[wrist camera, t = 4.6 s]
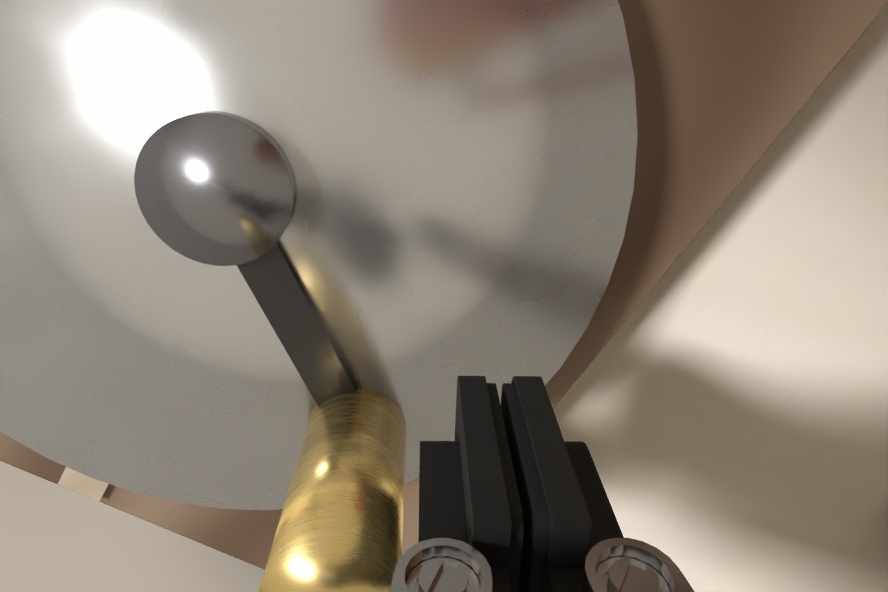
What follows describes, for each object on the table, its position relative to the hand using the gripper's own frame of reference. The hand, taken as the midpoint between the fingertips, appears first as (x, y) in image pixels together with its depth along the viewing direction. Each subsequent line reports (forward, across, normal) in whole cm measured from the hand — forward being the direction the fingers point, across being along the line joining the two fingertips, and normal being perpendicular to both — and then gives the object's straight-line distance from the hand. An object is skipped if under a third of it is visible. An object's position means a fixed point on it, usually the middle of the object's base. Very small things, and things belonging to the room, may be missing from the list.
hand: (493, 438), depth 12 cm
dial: (+4, +6, -4) cm, 8 cm away
